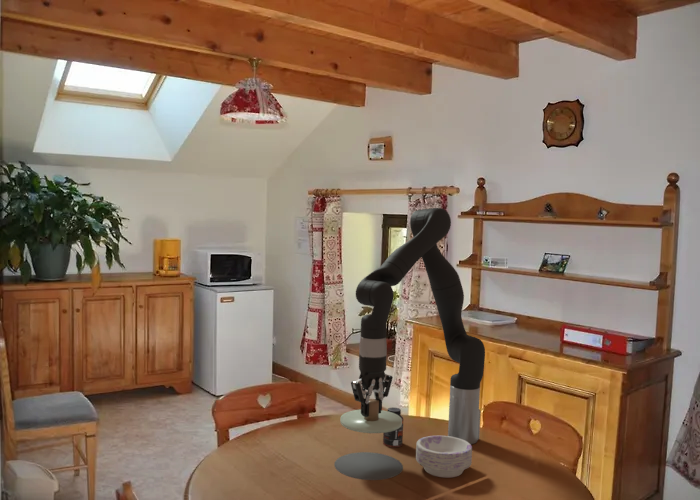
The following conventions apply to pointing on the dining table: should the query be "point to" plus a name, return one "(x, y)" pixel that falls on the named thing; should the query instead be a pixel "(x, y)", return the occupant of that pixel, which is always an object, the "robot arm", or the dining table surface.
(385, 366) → the robot arm
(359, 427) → the lid
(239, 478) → the dining table surface
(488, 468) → the dining table surface
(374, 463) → the mat
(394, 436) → the supplement bottle
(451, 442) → the paper bowls
